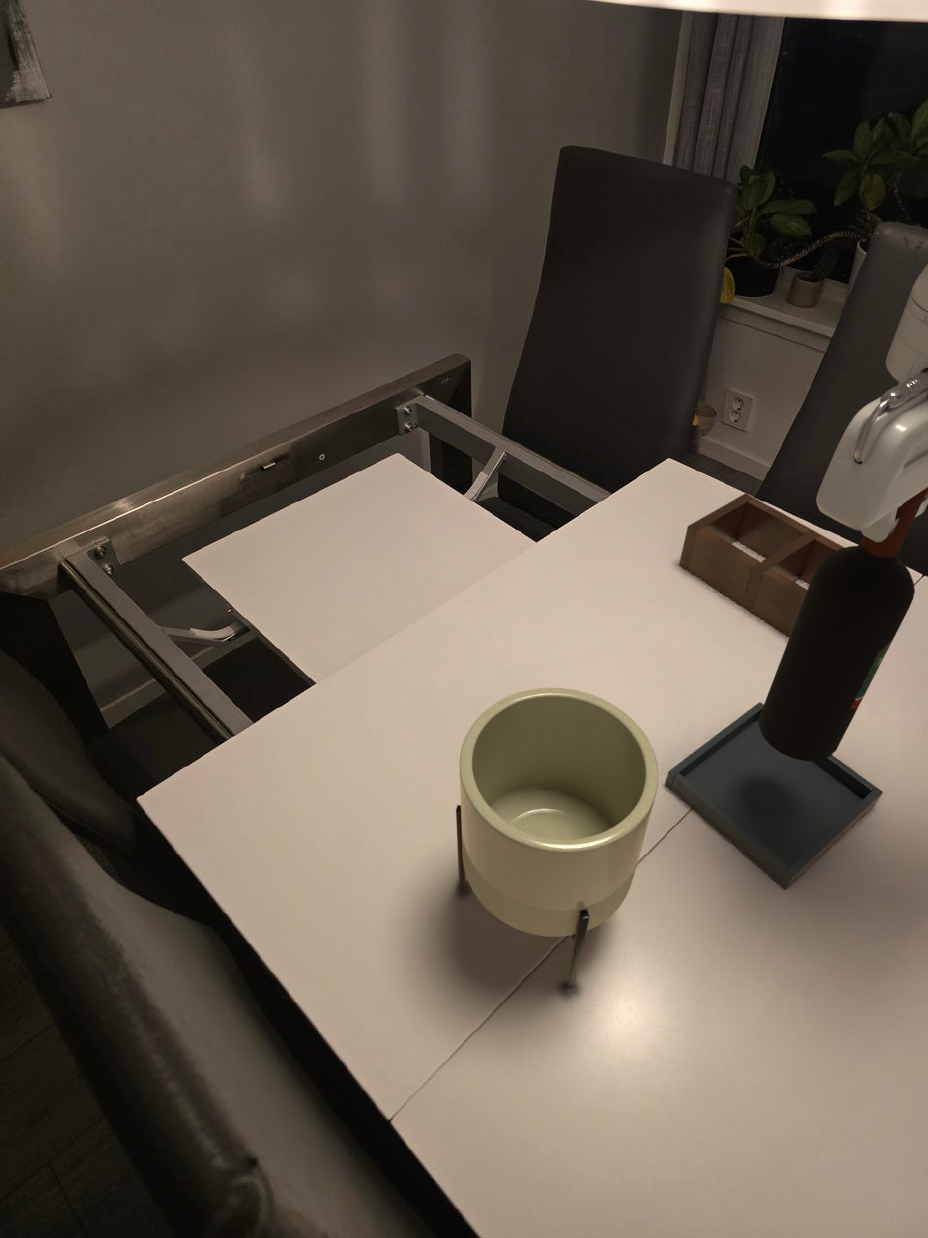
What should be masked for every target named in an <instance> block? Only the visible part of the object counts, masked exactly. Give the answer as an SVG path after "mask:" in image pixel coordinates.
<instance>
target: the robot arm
mask: <svg viewBox="0 0 928 1238" xmlns="http://www.w3.org/2000/svg"><path fill="white" fill-rule="evenodd" d="M885 366H886V369H887V371H888V372H889V373H890V376H892V378H893V379H895V380H896V381H897V382H898V383H897V385H896V386H893V387H891V388H889V389H888V390H887V391H885V392H884V393H883V394H882V395H881V396H880V397H878V398H876V399H874V400H872V401H871V402H868V403H867V404H866V405H864V406H863V407H862V408H861V409H860V410H859V411H858V412H857V413H856V414H855V415H854V416H853V417H852V419H851V420H850V422H849V424H848V425H847V427H846V429H845V431H844V432H843V434H842V436H841V438H840V440H839V442H838V444H837V446H836V448H835V451H834V453H833V455H832V458H831V460H830V462H829V465H828V468H827V469H826V472H825V474H824V476H823V479H822V481H821V484H820V486H819V488H818V491H817V493H816V494H817V495H816V499H815V500H816V501H815V502H816V505H817V509H818V510H819V512H821V514H824V515H825V516H827V517H828V518H830V519H832V520H834V521H836V522H838V523H839V524H842V525H843V526H846V527H847V528H850V529H852V530H855V531H857V532H858V531H859V532H860V533H861V534H862V535H863V537H864V536H866V537H868V538H870V539H872V540H874V541H875V542H881V541H883V540H884V539H885V538H887V537H888V536H890V535H891V534H892V533H893V532H894V530H895V527H896V525H897V524H898V521H899V519H900V517H898V516H896V513H897V509H898V507H900V506H901V505H902V504H903V503H905V502H906V501H907V500H909V499H910V498H912V497H913V496H915V495H916V494H918V493H919V492H921V491H922V490H924V489H925V488H927V487H928V263H927V264H926V265H925V266H924V268H923V270H921V272H920V273H919V275H918V277H917V278H916V279H915V281H914V283H913V285H912V287H911V290H910V293H909V296H908V299H907V301H906V304H905V306H904V309H903V312H902V315H901V317H900V320H899V322H898V325H897V328H896V331H895V334H894V336H893V338H892V341H891V345H890V347H889V350H888V353H887V355H886V358H885ZM927 507H928V493H927V495H926V496H925V497H924V499H923V501H922V503H921V505H920V508H919V510H918V512H917V514H916V516H915V518H917V517H918V516H921V515H922V514H923V513H924V512H925V510H926V508H927Z"/></svg>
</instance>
